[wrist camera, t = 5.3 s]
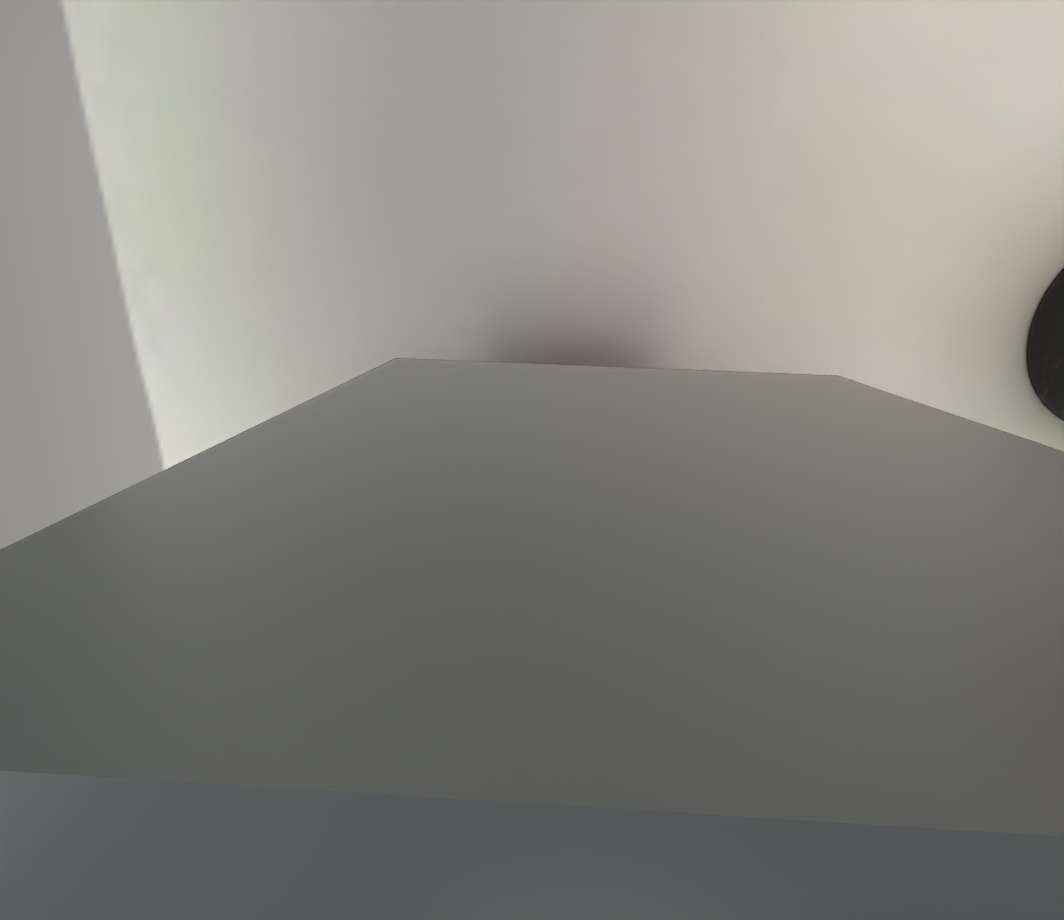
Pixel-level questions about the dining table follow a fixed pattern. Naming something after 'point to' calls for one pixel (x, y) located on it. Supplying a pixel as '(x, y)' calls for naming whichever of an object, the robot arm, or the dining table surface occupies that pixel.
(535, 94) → the dining table surface
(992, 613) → the grey rectangular block
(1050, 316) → the travel mug
